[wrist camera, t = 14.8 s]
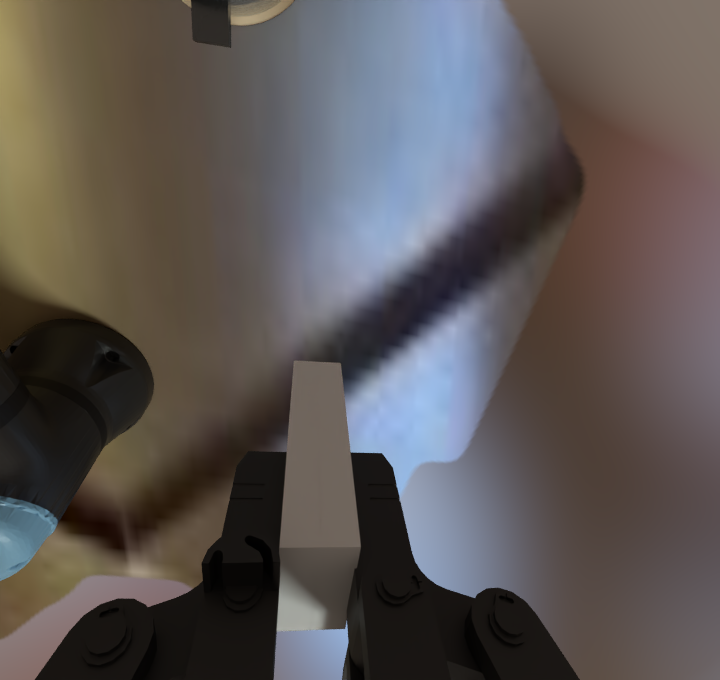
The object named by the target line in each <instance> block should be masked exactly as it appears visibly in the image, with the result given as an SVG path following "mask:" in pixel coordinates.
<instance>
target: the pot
mask: <svg viewBox="0 0 720 680" xmlns="http://www.w3.org/2000/svg"><path fill="white" fill-rule="evenodd" d="M281 1H282V0H191V11H192V32H193V40H194V41H195V42H199V43H205V44H211V45H217V46H223V47H230V48H231V16H234V17H246V16H253V15H257V14H260V13H263V12H265V11H267V10H270V9H271V8H273V7H274V6H276V5H277V4H279V3H280V2H281Z"/></svg>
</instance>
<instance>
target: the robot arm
mask: <svg viewBox="0 0 720 680" xmlns="http://www.w3.org/2000/svg"><path fill="white" fill-rule="evenodd" d="M153 390H154V382H153V376H152V372H151V370H150V367H149V365H148V363H147V361H146V360H145V358H144V357H143V355H142V354H141V353H140V352H139V351H138V349H137V348H136V347H135V346H134V345H133V344H131V343H130V342H129V341H128V340H126V339H125V338H124V337H122V336H121V335H119V334H118V333H116V332H114V331H112V330H110V329H108V328H106V327H103V326H101V325H98V324H95V323H91V322H87V321H82V320H74V319H59V320H52V321H47V322H44V323H41V324H38V325H36V326H34V327H32V328H30V329H29V330H27V331H26V332H25V333H23V334H22V335H21V336H20V337H18V338H17V339H16V340H14V341H13V342H12V343H11V344H10V345H9V347H8V348H7V349H6V351H5V352H4V354H3V353H2V352H1V350H0V581H1V580H3V579H6V578H8V577H10V576H12V575H13V574H15V573H17V572H18V571H19V570H21V569H22V568H23V567H24V566H25V565H26V564H27V563H28V562H29V561H30V560H31V559H32V557H33V556H34V555H35V553H36V552H37V551H38V549H39V548H40V546H41V545H42V544H43V542H44V541H45V539H46V538H47V537H48V536H49V535H51V534H52V533H53V532H54V530H55V528H56V527H57V524H58V522H59V520H60V519H61V517H62V515H63V514H64V512H65V510H66V509H67V507H68V505H69V504H70V502H71V500H72V499H73V497H74V495H75V494H76V492H77V490H78V489H79V487H80V485H81V484H82V482H83V481H84V479H85V477H86V476H87V474H88V472H89V471H90V469H91V467H92V466H93V464H94V462H95V461H96V459H97V457H98V456H99V454H100V452H101V451H102V449H103V448H104V447H105V446H106V445H107V444H108V443H110V442H111V441H112V440H113V439H115V438H116V437H117V436H118V435H120V434H122V433H124V432H125V431H127V430H128V429H130V428H131V427H132V426H133V425H135V424H136V423H137V422H138V420H139V419H140V418H141V417H142V415H143V414H144V412H145V410H146V408H147V407H148V405H149V403H150V401H151V399H152V395H153ZM202 574H203V581H202V582H201V583H200V584H199V585H198V586H197V587H195V588H194V589H192V590H191V591H189V592H188V593H186V594H183V595H181V596H179V597H177V598H174V599H171V600H168V601H165V602H162V603H159V604H156V605H153V606H151V607H147V606H146V605H145V604H143V603H141V602H139V601H137V600H135V599H116V600H112V601H109V602H106V603H103V604H101V605H99V606H97V607H96V608H94V609H93V610H91V611H90V612H88V613H87V614H85V615H84V616H83V617H82V618H81V619H80V620H79V621H78V622H77V623H76V625H75V626H74V627H73V628H72V629H71V630H70V631H69V632H68V634H67V635H66V637H65V638H64V639H63V641H62V642H61V644H60V645H59V646H58V648H57V649H56V651H55V652H54V653H53V655H52V656H51V658H50V659H49V661H48V662H47V663H46V665H45V666H44V668H43V669H42V670H41V672H40V673H39V675H38V676H37V677H36V679H35V680H273V679H274V664H275V648H276V634H277V631H297V630H325V629H345V627H346V621H347V625H348V639H349V643H348V648H347V653H346V658H345V663H344V668H343V676H342V680H580V679H579V678H578V676H577V675H576V673H575V672H574V670H573V669H572V667H571V666H570V664H569V663H568V661H567V660H566V658H565V657H564V655H563V654H562V652H561V651H560V649H559V648H558V646H557V645H556V643H555V642H554V640H553V639H552V637H551V636H550V634H549V633H548V631H547V630H546V628H545V627H544V625H543V624H542V622H541V621H540V619H539V618H538V616H537V615H536V613H535V612H534V611H533V610H532V608H531V607H530V606H529V605H528V604H527V603H526V602H525V601H524V600H523V599H521V598H520V597H518V596H517V595H516V594H514V593H513V592H510V591H507V590H504V589H501V588H488V589H485V590H483V591H482V592H480V593H479V594H477V596H476V598H472V597H469V596H466V595H463V594H460V593H457V592H453V591H450V590H447V589H445V588H442V587H440V586H438V585H436V584H435V583H434V582H432V581H430V580H429V579H428V578H427V577H426V576H425V575H424V574H423V573H422V572H421V570H420V569H419V568H418V566H417V564H416V563H415V560H414V557H413V554H412V551H411V547H410V542H409V538H408V533H407V529H406V524H405V520H404V516H403V511H402V507H401V503H400V501H399V493H398V489H397V487H396V480H395V476H394V471H393V467H392V466H391V465H390V463H389V462H388V461H387V459H386V458H385V457H384V455H383V454H382V453H350V444H349V435H348V426H347V417H346V408H345V399H344V390H343V381H342V371H341V363H327V362H310V361H294V367H293V380H292V393H291V406H290V418H289V431H288V444H287V452H255V451H248V452H247V454H246V455H245V456H244V458H243V459H242V460H241V461H240V463H239V464H238V465H237V468H236V472H235V477H234V482H233V487H232V491H231V495H230V501H229V505H228V509H227V514H226V518H225V523H224V528H223V532H222V537H221V538H219V539H218V540H217V541H216V542H215V543H214V544H213V545H212V546H211V547H210V548H209V549H208V551H207V553H206V555H205V557H204V559H203V561H202Z"/></svg>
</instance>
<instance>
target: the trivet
mask: <svg viewBox="0 0 720 680" xmlns="http://www.w3.org/2000/svg"><path fill="white" fill-rule="evenodd" d="M182 1H183V2H184V3H185V4H186V5H188V6H189V7H191V0H182ZM294 1H295V0H282V1H281V2H280V3H279V4H277V5H276V6H274V7H273V8H271V9H270V10H267V11H265V12H263V13H260V14H257V15H253V16H246V17H234V16H231V25H236V26H247V25H255V24H259V23H263V22H265V21H268V20H270V19H272V18H274V17H276V16H277V15H279V14H280V13H282V12H283V11H284V10H286V9H287V8H288V7H289V6H290V5H291V4H292V3H293V2H294Z"/></svg>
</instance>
